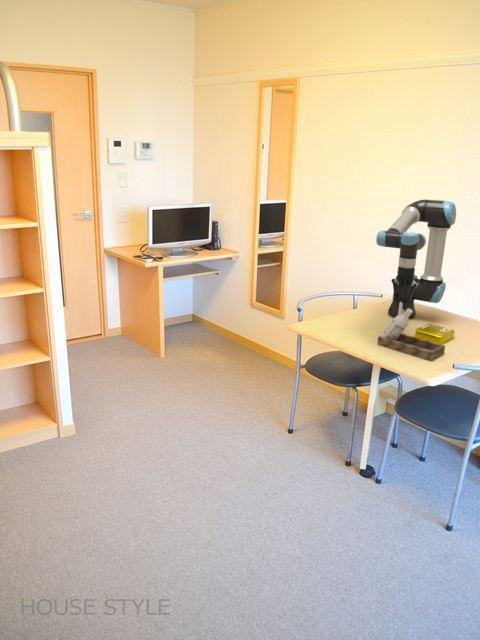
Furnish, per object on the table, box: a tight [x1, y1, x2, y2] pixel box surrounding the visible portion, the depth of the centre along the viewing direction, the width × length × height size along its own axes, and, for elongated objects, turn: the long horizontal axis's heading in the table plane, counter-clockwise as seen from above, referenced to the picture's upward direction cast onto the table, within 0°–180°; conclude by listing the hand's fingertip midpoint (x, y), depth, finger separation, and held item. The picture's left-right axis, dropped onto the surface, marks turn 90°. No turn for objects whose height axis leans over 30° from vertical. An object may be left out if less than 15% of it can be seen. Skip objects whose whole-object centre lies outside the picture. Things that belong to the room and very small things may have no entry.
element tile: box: [414, 323, 456, 345], centre depth 272 cm, size 15×15×5 cm
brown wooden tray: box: [377, 332, 446, 362], centre depth 256 cm, size 28×13×4 cm, turn 45°
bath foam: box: [381, 308, 413, 341], centre depth 258 cm, size 7×7×20 cm
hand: (400, 315), depth 256 cm, fingers closed
